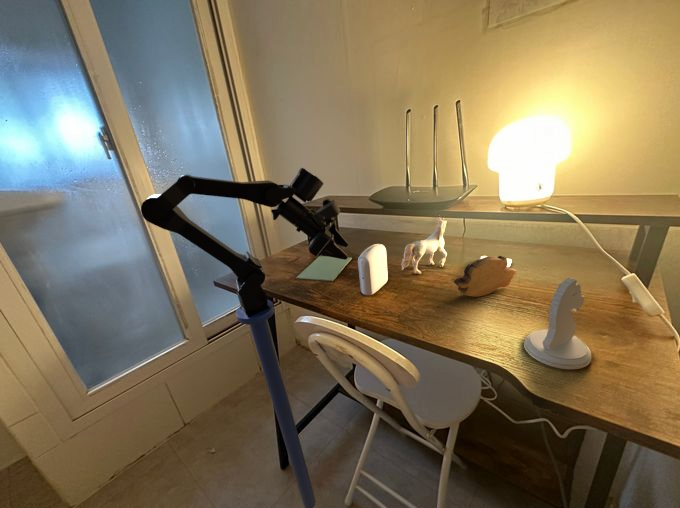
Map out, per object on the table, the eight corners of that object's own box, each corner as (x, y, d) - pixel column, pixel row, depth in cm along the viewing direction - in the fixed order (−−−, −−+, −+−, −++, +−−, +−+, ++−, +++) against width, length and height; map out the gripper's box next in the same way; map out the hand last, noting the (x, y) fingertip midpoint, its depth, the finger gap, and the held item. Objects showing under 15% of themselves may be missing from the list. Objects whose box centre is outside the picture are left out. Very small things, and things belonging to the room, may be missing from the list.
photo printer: (372, 297, 81) (368, 254, 76) (358, 294, 84) (354, 252, 78) (390, 281, 88) (388, 241, 83) (377, 278, 91) (374, 239, 85)
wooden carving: (500, 280, 80) (504, 245, 75) (515, 287, 76) (521, 250, 72) (449, 298, 75) (450, 262, 71) (462, 306, 72) (465, 268, 67)
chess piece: (603, 355, 53) (629, 278, 46) (568, 378, 49) (591, 299, 43) (545, 328, 61) (560, 260, 54) (512, 346, 58) (523, 276, 51)
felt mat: (332, 281, 93) (332, 280, 93) (296, 278, 99) (296, 277, 98) (352, 258, 107) (352, 257, 107) (319, 257, 113) (319, 256, 113)
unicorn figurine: (457, 259, 95) (460, 217, 89) (419, 282, 85) (419, 237, 79) (437, 254, 100) (438, 215, 95) (399, 275, 91) (398, 232, 85)
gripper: (314, 199, 67) (368, 241, 70) (321, 185, 83) (365, 219, 87) (287, 237, 71) (339, 274, 75) (299, 216, 88) (341, 248, 91)
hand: (347, 251), depth 82 cm, fingers open, 9 cm apart
